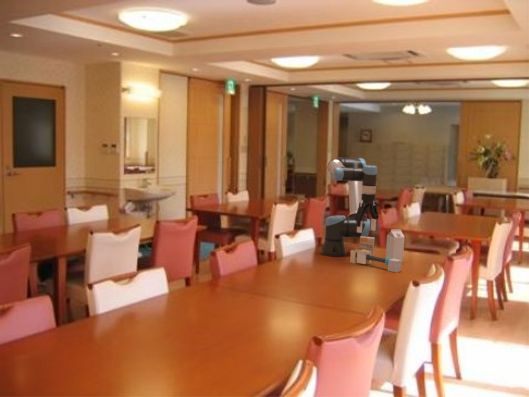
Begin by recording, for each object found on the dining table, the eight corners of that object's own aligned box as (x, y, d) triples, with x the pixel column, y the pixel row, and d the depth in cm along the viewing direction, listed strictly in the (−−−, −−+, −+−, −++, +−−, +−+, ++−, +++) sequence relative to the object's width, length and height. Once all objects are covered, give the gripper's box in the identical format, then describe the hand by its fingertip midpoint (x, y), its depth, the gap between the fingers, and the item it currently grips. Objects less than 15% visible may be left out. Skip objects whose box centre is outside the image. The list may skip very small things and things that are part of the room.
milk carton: (385, 260, 330) (387, 228, 329) (395, 260, 334) (397, 228, 332) (392, 263, 324) (395, 230, 322) (402, 262, 327) (405, 230, 325)
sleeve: (356, 262, 317) (357, 250, 316) (363, 261, 321) (364, 249, 320) (364, 264, 313) (365, 252, 312) (370, 262, 318) (371, 250, 317)
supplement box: (358, 259, 332) (359, 236, 330) (359, 257, 336) (360, 235, 335) (372, 260, 329) (374, 238, 328) (373, 259, 334) (374, 237, 333)
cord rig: (350, 262, 321) (350, 250, 320) (355, 261, 324) (355, 249, 323) (395, 272, 300) (396, 259, 300) (400, 271, 304) (401, 258, 303)
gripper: (361, 195, 302) (359, 234, 304) (386, 193, 320) (384, 230, 322) (349, 193, 307) (347, 232, 309) (375, 192, 325) (372, 228, 327)
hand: (366, 231), depth 315 cm, fingers open, 13 cm apart
